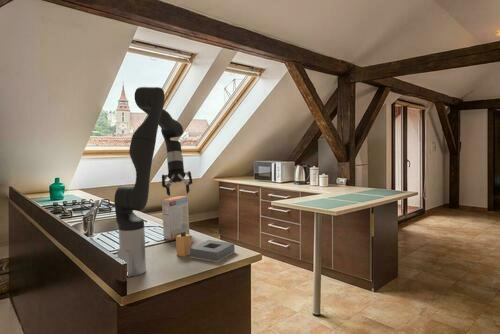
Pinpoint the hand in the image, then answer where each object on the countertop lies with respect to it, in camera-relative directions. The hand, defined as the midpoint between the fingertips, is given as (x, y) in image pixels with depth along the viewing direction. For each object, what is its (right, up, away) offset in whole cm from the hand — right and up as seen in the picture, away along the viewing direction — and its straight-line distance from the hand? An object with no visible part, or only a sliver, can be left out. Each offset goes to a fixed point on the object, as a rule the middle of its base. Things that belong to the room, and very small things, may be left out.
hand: (178, 194), depth 161 cm
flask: (+2, -25, +5) cm, 25 cm away
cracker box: (-5, -24, +17) cm, 30 cm away
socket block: (+18, -25, -13) cm, 33 cm away
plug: (+5, -26, -11) cm, 28 cm away
